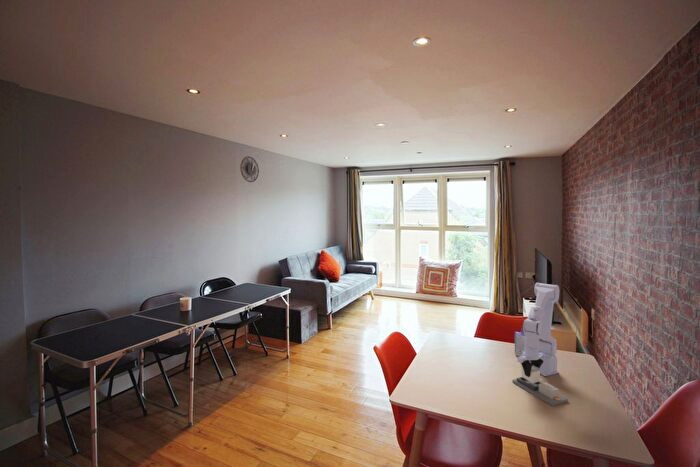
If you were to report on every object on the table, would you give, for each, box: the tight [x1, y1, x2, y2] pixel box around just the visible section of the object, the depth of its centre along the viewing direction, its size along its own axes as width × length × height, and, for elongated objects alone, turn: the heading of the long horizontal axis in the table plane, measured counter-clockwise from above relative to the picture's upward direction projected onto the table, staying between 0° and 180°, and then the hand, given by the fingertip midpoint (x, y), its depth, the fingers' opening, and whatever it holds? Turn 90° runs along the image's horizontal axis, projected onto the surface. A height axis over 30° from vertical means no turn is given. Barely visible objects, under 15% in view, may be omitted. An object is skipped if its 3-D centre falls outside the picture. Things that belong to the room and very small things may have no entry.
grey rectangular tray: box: [512, 376, 569, 407], centre depth 139 cm, size 9×20×5 cm, turn 20°
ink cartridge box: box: [514, 327, 525, 357], centre depth 175 cm, size 10×6×14 cm, turn 72°
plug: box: [521, 365, 541, 383], centre depth 143 cm, size 4×6×6 cm, turn 20°
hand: (531, 375), depth 143 cm, fingers closed on plug, 4 cm apart
